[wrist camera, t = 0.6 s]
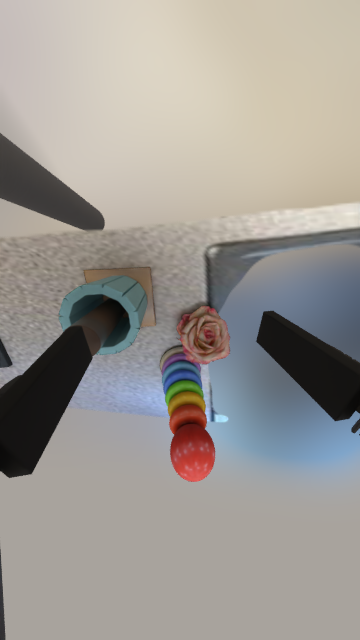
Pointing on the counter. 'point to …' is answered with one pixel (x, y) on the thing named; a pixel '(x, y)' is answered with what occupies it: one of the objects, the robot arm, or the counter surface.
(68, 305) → the planter pot
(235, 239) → the counter surface
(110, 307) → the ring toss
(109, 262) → the counter surface
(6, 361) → the mat
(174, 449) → the stacking toy
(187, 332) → the flower
